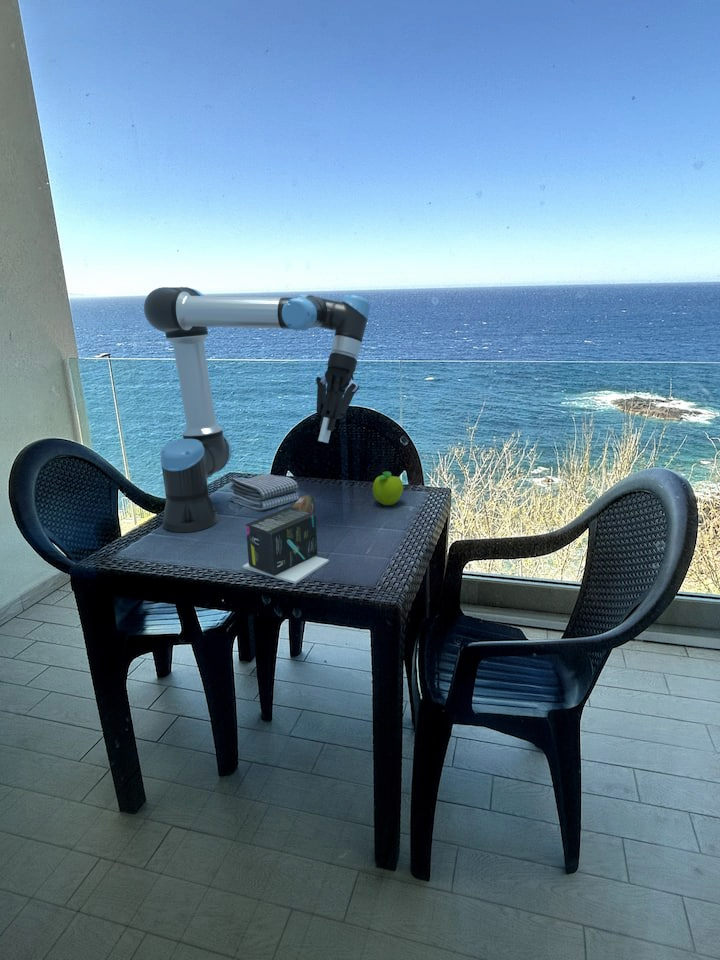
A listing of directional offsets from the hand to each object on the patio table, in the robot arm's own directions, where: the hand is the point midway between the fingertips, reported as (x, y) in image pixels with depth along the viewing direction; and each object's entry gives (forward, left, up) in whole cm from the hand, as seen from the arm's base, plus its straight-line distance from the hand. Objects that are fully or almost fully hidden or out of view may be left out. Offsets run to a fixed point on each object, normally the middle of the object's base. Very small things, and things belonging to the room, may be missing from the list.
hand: (323, 441), depth 157 cm
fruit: (+6, +24, -24) cm, 34 cm away
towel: (-30, +8, -25) cm, 40 cm away
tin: (-5, -4, -24) cm, 25 cm away
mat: (+6, -25, -24) cm, 36 cm away
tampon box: (+6, -17, -18) cm, 26 cm away
